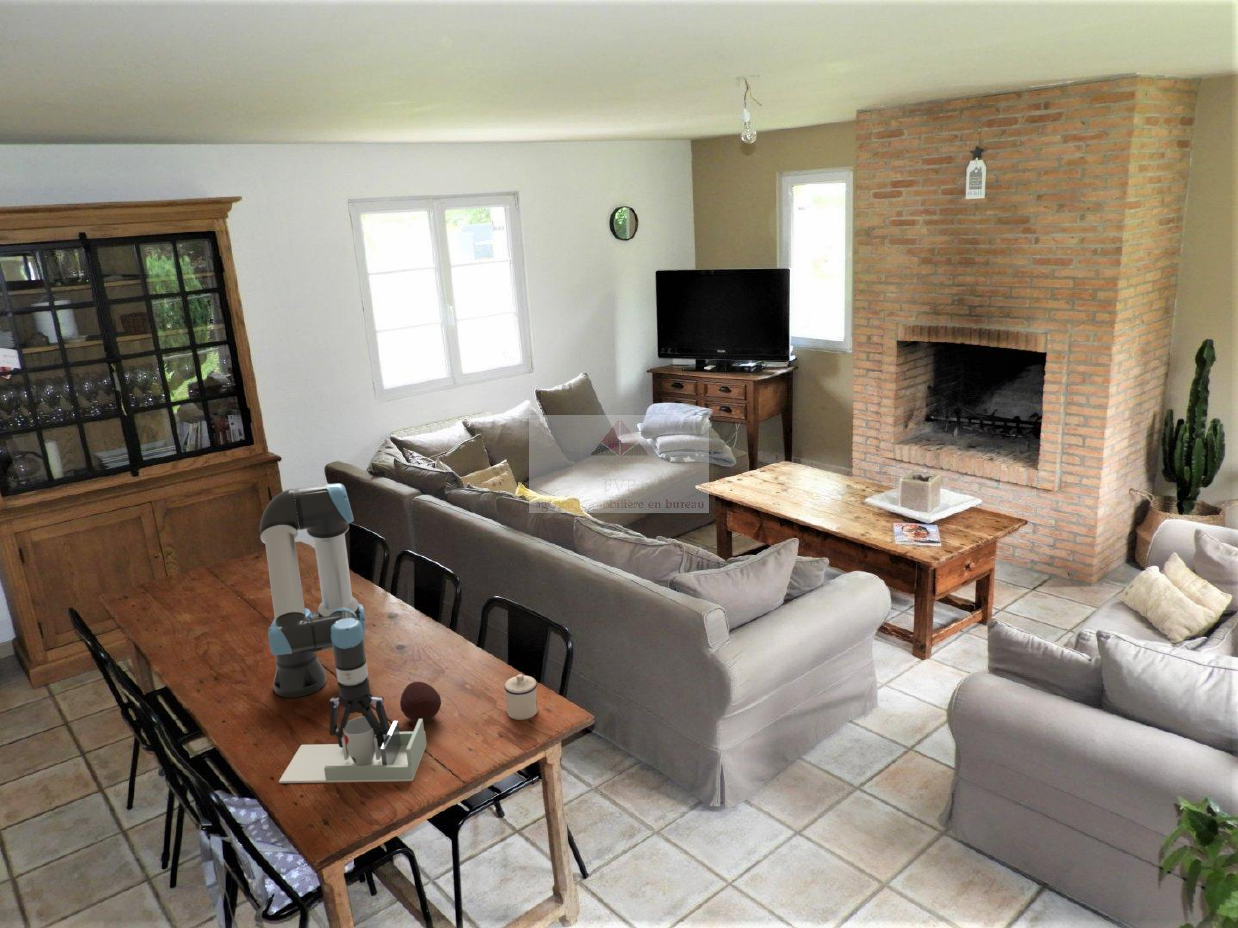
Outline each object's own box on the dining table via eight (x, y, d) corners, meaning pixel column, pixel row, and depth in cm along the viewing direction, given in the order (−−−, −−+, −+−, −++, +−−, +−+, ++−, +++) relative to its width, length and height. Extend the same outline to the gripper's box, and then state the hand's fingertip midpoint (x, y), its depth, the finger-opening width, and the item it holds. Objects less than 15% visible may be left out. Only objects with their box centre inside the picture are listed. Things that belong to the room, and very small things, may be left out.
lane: (279, 783, 227) (274, 753, 225) (301, 746, 242) (297, 718, 240) (412, 781, 226) (409, 751, 224) (426, 744, 241) (423, 716, 239)
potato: (407, 736, 245) (403, 703, 242) (398, 712, 257) (394, 680, 254) (447, 726, 249) (443, 693, 246) (436, 703, 261) (433, 671, 258)
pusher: (383, 774, 228) (380, 749, 226) (396, 745, 240) (393, 720, 238) (388, 774, 228) (385, 749, 225) (401, 745, 240) (398, 720, 238)
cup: (350, 751, 237) (346, 718, 234) (382, 748, 238) (378, 715, 235) (344, 769, 230) (339, 735, 227) (376, 767, 230) (372, 733, 227)
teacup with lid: (545, 712, 254) (542, 675, 251) (518, 724, 249) (515, 687, 245) (521, 695, 263) (518, 660, 260) (494, 707, 258) (491, 671, 254)
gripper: (307, 687, 224) (319, 766, 230) (389, 685, 223) (398, 765, 230) (318, 671, 231) (329, 748, 237) (397, 670, 230) (406, 747, 237)
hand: (363, 756), depth 234 cm, fingers closed on cup, 8 cm apart
